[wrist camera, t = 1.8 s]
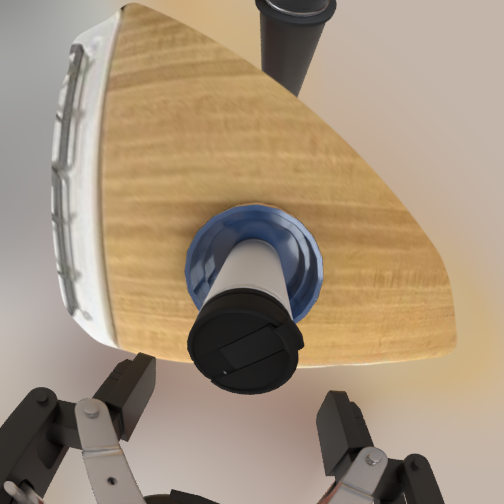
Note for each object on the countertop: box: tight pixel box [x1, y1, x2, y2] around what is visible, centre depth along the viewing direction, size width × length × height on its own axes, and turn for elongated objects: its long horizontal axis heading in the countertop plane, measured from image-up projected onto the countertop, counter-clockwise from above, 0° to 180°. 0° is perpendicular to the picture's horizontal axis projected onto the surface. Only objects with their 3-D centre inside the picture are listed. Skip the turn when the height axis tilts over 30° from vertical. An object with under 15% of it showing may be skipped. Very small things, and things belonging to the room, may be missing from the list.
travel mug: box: [187, 238, 304, 395], centre depth 23 cm, size 6×7×20 cm
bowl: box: [185, 202, 323, 324], centre depth 30 cm, size 14×14×6 cm
